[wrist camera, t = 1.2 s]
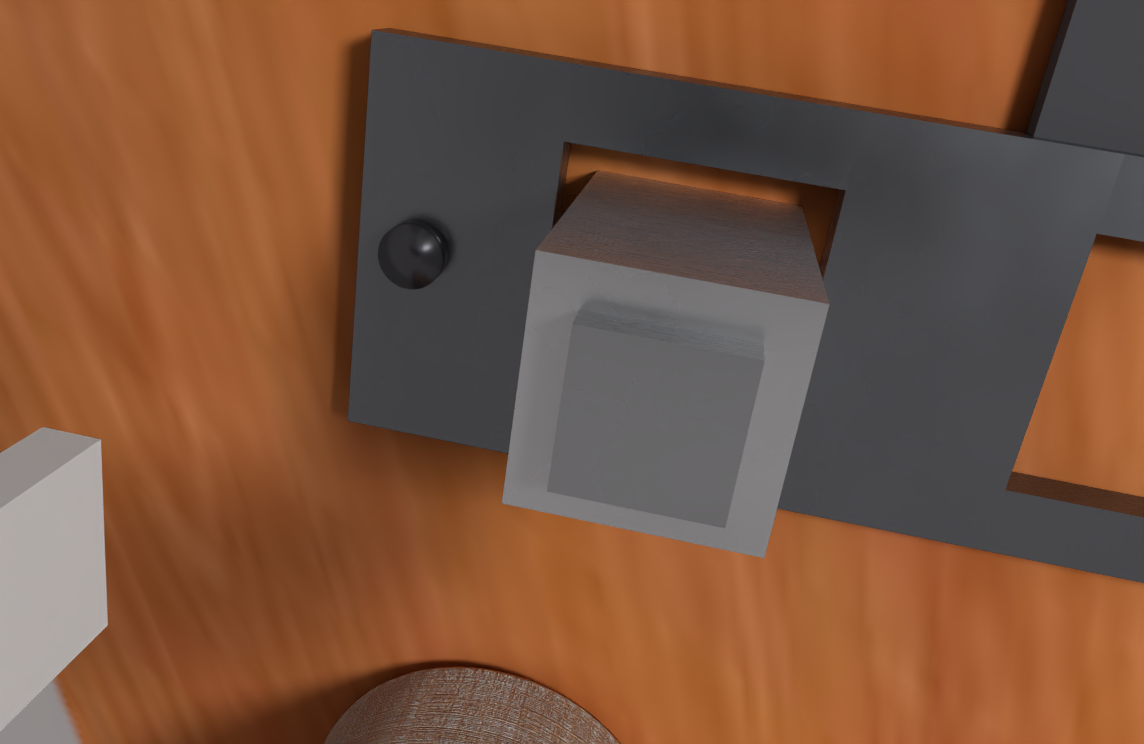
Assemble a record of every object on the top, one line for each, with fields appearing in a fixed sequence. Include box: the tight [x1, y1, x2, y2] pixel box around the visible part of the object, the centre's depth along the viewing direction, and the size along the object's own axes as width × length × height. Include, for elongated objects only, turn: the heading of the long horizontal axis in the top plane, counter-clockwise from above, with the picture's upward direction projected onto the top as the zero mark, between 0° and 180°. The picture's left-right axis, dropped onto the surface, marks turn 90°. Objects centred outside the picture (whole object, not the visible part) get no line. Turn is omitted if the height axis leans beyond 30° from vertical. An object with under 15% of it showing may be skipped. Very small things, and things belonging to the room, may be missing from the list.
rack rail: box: [348, 28, 1144, 583], centre depth 23 cm, size 10×28×2 cm, turn 82°
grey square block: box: [502, 170, 829, 558], centre depth 21 cm, size 5×5×9 cm
